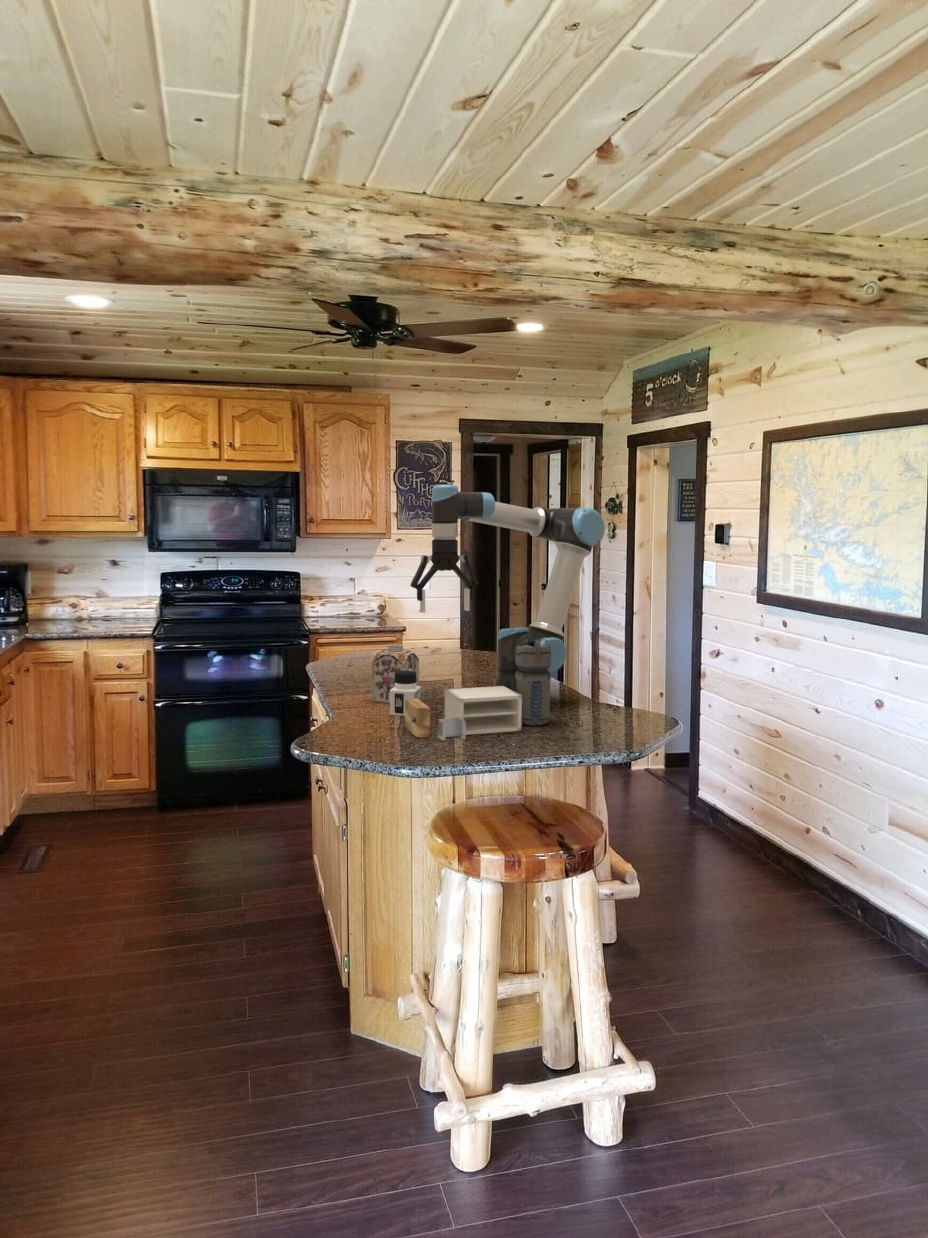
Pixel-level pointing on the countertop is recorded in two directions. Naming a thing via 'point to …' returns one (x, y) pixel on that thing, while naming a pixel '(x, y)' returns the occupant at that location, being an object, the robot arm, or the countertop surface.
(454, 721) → the bracket
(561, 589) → the robot arm
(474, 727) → the block
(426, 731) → the oak door
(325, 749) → the countertop surface
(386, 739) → the countertop surface
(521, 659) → the beverage bottle
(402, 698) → the container
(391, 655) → the decorative jar
